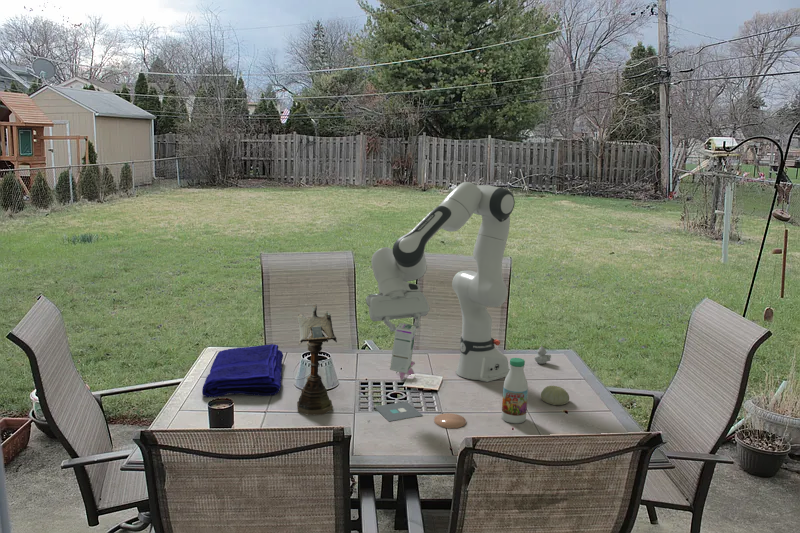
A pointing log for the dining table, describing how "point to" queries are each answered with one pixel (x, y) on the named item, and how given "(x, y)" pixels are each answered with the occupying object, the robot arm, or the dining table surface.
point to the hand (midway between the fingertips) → (405, 329)
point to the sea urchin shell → (554, 395)
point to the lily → (407, 372)
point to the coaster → (450, 420)
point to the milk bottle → (515, 393)
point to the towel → (245, 372)
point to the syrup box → (403, 347)
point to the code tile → (398, 411)
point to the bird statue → (315, 362)
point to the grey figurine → (542, 356)
